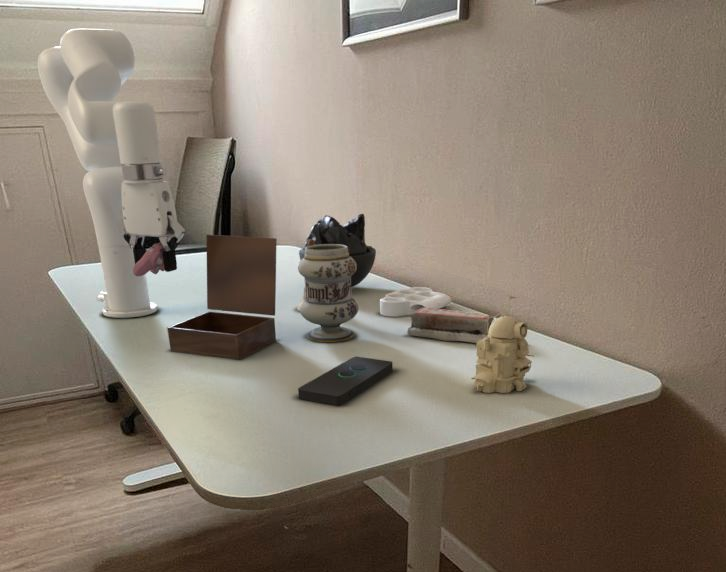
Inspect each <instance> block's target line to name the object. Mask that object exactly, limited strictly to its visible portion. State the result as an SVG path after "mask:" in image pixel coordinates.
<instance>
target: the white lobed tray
mask: <svg viewBox="0 0 726 572" xmlns="http://www.w3.org/2000/svg"><path fill="white" fill-rule="evenodd" d="M451 304H452V298H451V297H450V296H449V295H448V294H445V293H443V292H441V291H440V292H438V291H433V288H430V287H427V286H413V287H409V288H404V289H397V290H394V291H393V292H389V293H386V294H385V295H384V297H382V298H379V313H380V315H381V316H383V317H389V318H397V317H405V316H406V317H407V316H411V315H412V314H413V313H414V312H415V311H417V310H419V309H420V308H422V307H424V308H435V309H443V308H445V307H447V306H449V305H451Z"/></svg>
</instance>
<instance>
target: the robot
mask: <svg viewBox="0 0 726 572" xmlns="http://www.w3.org/2000/svg"><path fill="white" fill-rule="evenodd" d="M508 297H509V298H508V301H511V300H513V299H517V297H515V296H513V295H510V294H509V296H508ZM509 306H510V303H507V306H506V307H505V306H504V305H501V312H500V313H498V314H497V315H496V314H495V316H493V317H494V318H495V317H497V316H499V315H500V314H501V316H499V317H497V318H495V319H493V321H492V323H491V326H490V328H489V332H488V324H487V337H485V338H484V339H482V340H479V341H478V342H477V343H475V347H476V352H475V353H476V357H477V360H476V364H475V375H474V376H473V377H471V378H470V379H471V380H474V387H476V392H483V393H485V394H490V393H495V392H496V393H500V394H507V393H510V392H512V391H513V390H515V391H516V392H522V391H523V390H525V389H526V388H528V385H527V384H526V382H525V376H526V373H529V372H530V370H531V368H532V360H531V359H530V358H528V357H535V355H534V354H529V353H530V348H529V342H528V341H527V339H526V338H527V335H528V330H529V325H528V323H527V322H520V321H518V320H517V319H516V318H515V317H513V316H510V315H508V313H509V312H508V311H509V310H507V311H506V315H504V311H505V310H506V309H508V308H509ZM504 307H505V308H504ZM487 315H488V318H489V315H490V314H487ZM493 317H491V318H493ZM526 381H528V382H530V381H531V379H530V378H529V379H528V378H526Z"/></svg>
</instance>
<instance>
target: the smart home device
mask: <svg viewBox="0 0 726 572" xmlns="http://www.w3.org/2000/svg"><path fill="white" fill-rule="evenodd" d="M393 367H394V366H393V361H390V360H385V359H378V358H377V359H376V358H370V357H364V356H353V357H351V358H349V359H347V360H345V361H343V362H342V363H340V364H338V365H336V366H335V367H333V368H331V369H329V370H328V371H326V372H324V373H322V374H320V375H319V376H317V377H315V378H314V379H311V380H310V381H308V382H307V383H305V384H303V385H301V386H300V387H298V388H297V395H298V399H299V400H305V401H310V402H316V403H322V404H327V405H334V406H341V405H343V404H344V403H346V402H348V401H349V400H350V399H352V398H354V397H356V396H357V395H358V394H360V393H361V392H363V391H365V390H366V389H367V388H369V387H371V386H372V385H374V384H375V383H377V382H378V381H380V380H381V379H383V378H384V377H387V376H388V375H389V374H390V373H392V372H393Z"/></svg>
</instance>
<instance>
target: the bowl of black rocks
mask: <svg viewBox="0 0 726 572" xmlns="http://www.w3.org/2000/svg"><path fill="white" fill-rule="evenodd" d="M365 217H366V216H365V214H364V213H360V214H358V215H357V217H356V218H352V219H351V221H347V222H346V223H345V224H344V225H342V224H340V222H339V221H338V220H337V219H335V217H333V216H330V215H327V214H326V215H324V216H323V217H322V218H320V219H319V220H317V222H316V223H315V224H314V225H312V226H311V229H310V234H308V235H307V237H306V239H305V243H304V246H303V247H302V248H301V249H299V250H298V256H299V260H300V261H301V260H302V259H303V258H304V255H305V248H306V247H307V246H308V241H309V239H314V242H315V245H322V244H340V245H345V246H347V247H348V253H349V256H350V257H352V258H353V259H354V260H355V262H356V264H357V269H356V271H355V273H354V274H353V275H352V276H351V288H353V287H355V286H357V285H359V284H360V283H362V281H364V280H365V279H366V278H367V277H368V275H369V274H370V272H371V270H372V269H373V266H374V263H375V261H376V255H377V250H376V248H374V247H373V246H371V245H367V244H366V239H365V237H366V236H365V233H366V229H365V226H366V221H365V220H366V219H365ZM300 261H299V262H300Z"/></svg>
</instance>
